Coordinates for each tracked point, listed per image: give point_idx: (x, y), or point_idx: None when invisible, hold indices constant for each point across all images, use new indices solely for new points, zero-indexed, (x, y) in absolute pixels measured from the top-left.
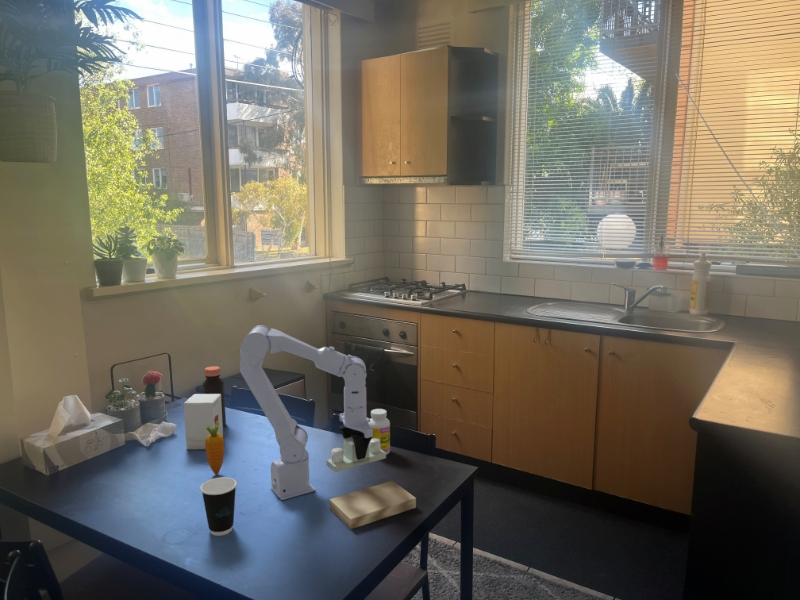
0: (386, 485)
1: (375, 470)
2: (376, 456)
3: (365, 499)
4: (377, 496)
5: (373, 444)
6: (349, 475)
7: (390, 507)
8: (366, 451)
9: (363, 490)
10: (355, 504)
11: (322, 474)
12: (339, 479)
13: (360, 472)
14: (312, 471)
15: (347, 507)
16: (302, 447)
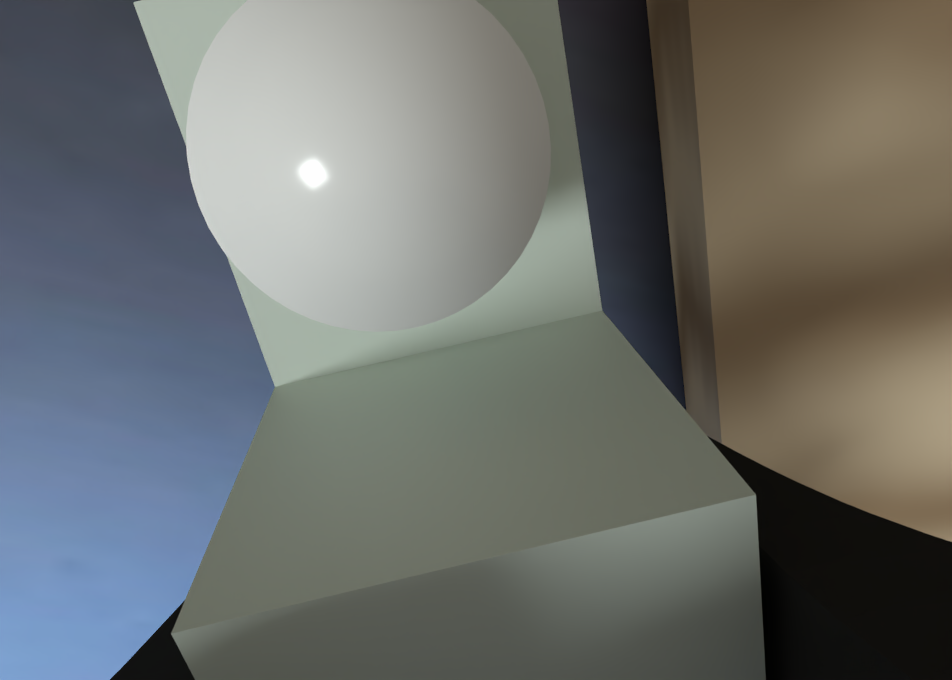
0: (763, 90)
1: (110, 6)
2: (575, 159)
3: (900, 379)
4: (914, 261)
5: (521, 238)
6: (180, 323)
7: None
8: (741, 457)
9: (737, 353)
10: (920, 471)
11: (104, 538)
12: (246, 425)
13: (131, 198)
14: (23, 601)
15: (924, 532)
16: None
